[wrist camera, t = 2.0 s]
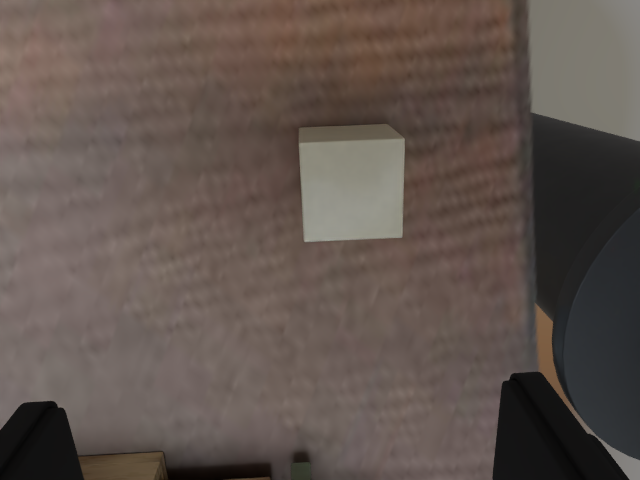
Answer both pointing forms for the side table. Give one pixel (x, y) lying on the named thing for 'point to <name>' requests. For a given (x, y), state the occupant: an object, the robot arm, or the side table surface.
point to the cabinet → (124, 466)
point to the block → (351, 182)
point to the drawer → (298, 472)
